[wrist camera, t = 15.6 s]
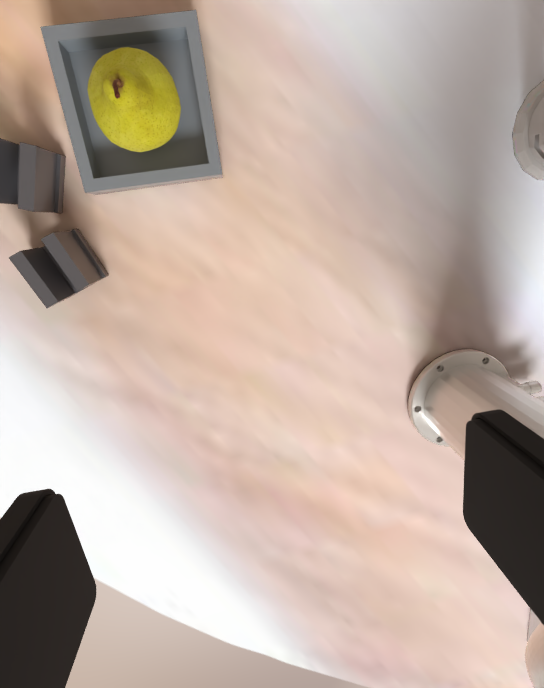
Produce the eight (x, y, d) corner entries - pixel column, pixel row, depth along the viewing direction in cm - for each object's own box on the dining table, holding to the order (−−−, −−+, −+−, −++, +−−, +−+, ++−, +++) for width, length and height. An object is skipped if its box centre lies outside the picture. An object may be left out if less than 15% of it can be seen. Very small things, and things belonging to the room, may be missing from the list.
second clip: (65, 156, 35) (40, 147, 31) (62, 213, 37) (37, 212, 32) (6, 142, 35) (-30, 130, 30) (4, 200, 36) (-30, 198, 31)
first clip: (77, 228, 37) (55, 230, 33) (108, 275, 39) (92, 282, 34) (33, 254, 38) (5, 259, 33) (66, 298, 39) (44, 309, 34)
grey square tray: (198, 27, 33) (196, 10, 31) (222, 177, 37) (222, 174, 34) (56, 43, 33) (40, 26, 30) (96, 194, 37) (85, 192, 34)
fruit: (94, 75, 33) (23, 0, 22) (174, 62, 33) (146, -19, 22) (118, 162, 35) (65, 136, 24) (192, 150, 36) (176, 118, 24)
